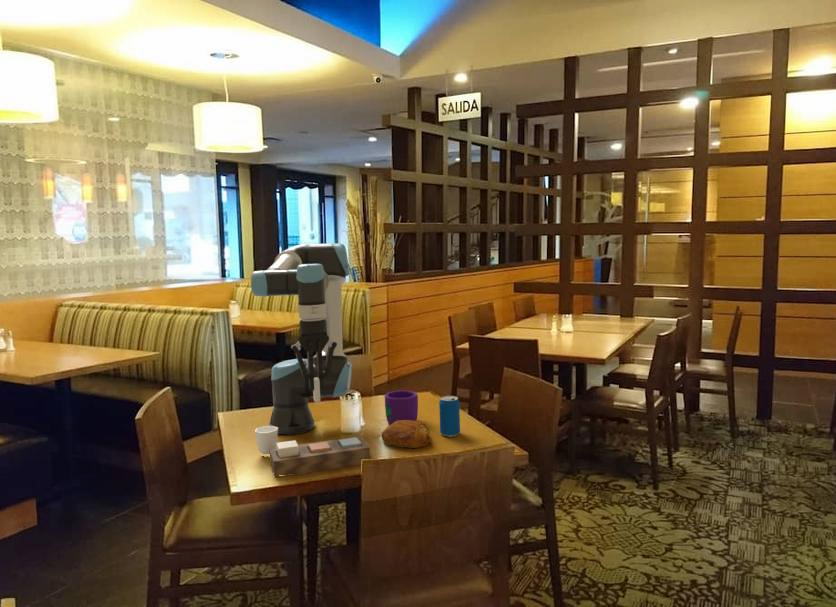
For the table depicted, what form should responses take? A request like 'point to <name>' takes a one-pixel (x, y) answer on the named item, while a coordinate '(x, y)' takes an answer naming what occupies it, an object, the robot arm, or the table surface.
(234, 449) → the table surface
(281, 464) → the key block
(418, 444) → the pastry
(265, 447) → the cup
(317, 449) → the terracotta key
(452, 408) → the beverage can
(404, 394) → the mug
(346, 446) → the slate key
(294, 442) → the ivory key
